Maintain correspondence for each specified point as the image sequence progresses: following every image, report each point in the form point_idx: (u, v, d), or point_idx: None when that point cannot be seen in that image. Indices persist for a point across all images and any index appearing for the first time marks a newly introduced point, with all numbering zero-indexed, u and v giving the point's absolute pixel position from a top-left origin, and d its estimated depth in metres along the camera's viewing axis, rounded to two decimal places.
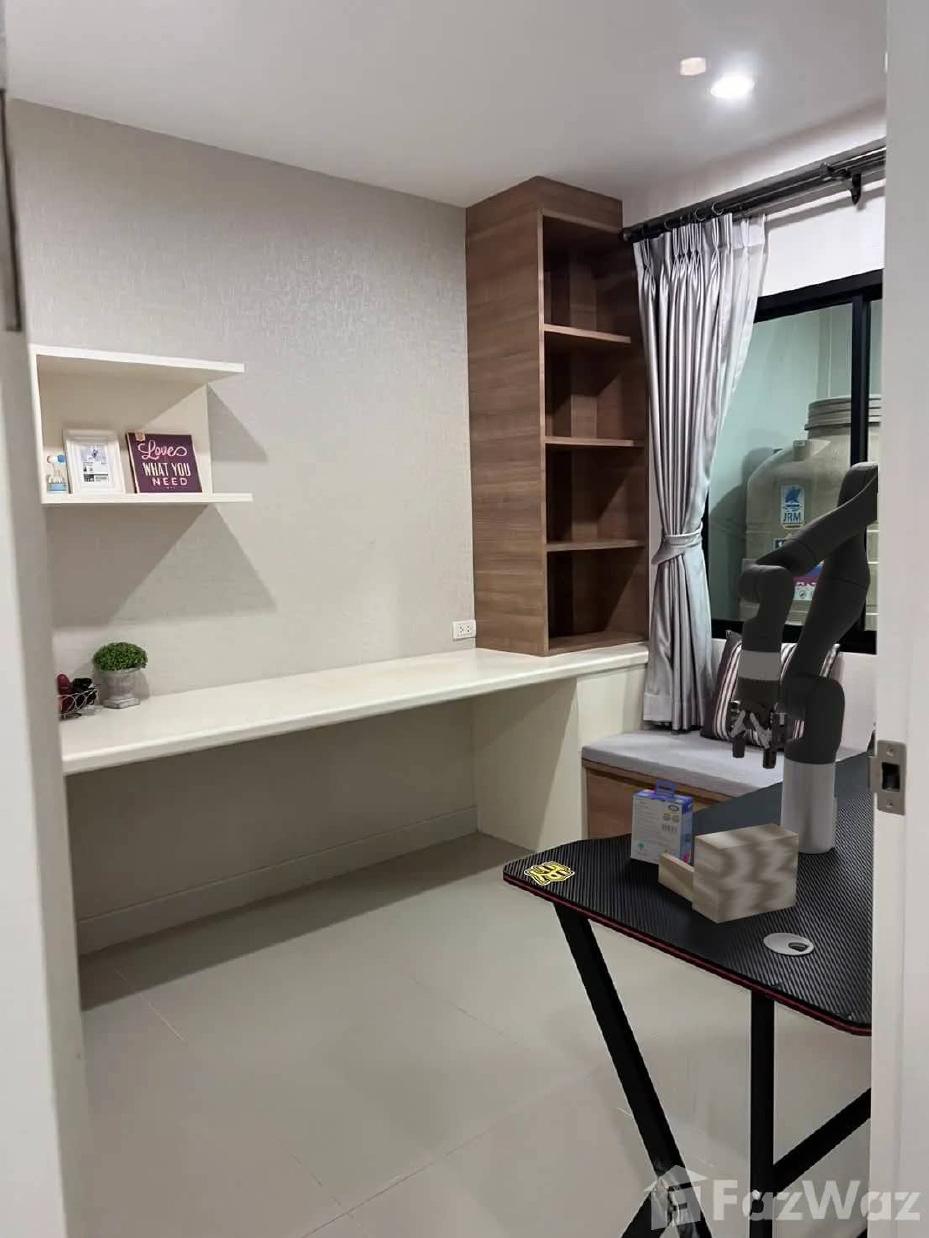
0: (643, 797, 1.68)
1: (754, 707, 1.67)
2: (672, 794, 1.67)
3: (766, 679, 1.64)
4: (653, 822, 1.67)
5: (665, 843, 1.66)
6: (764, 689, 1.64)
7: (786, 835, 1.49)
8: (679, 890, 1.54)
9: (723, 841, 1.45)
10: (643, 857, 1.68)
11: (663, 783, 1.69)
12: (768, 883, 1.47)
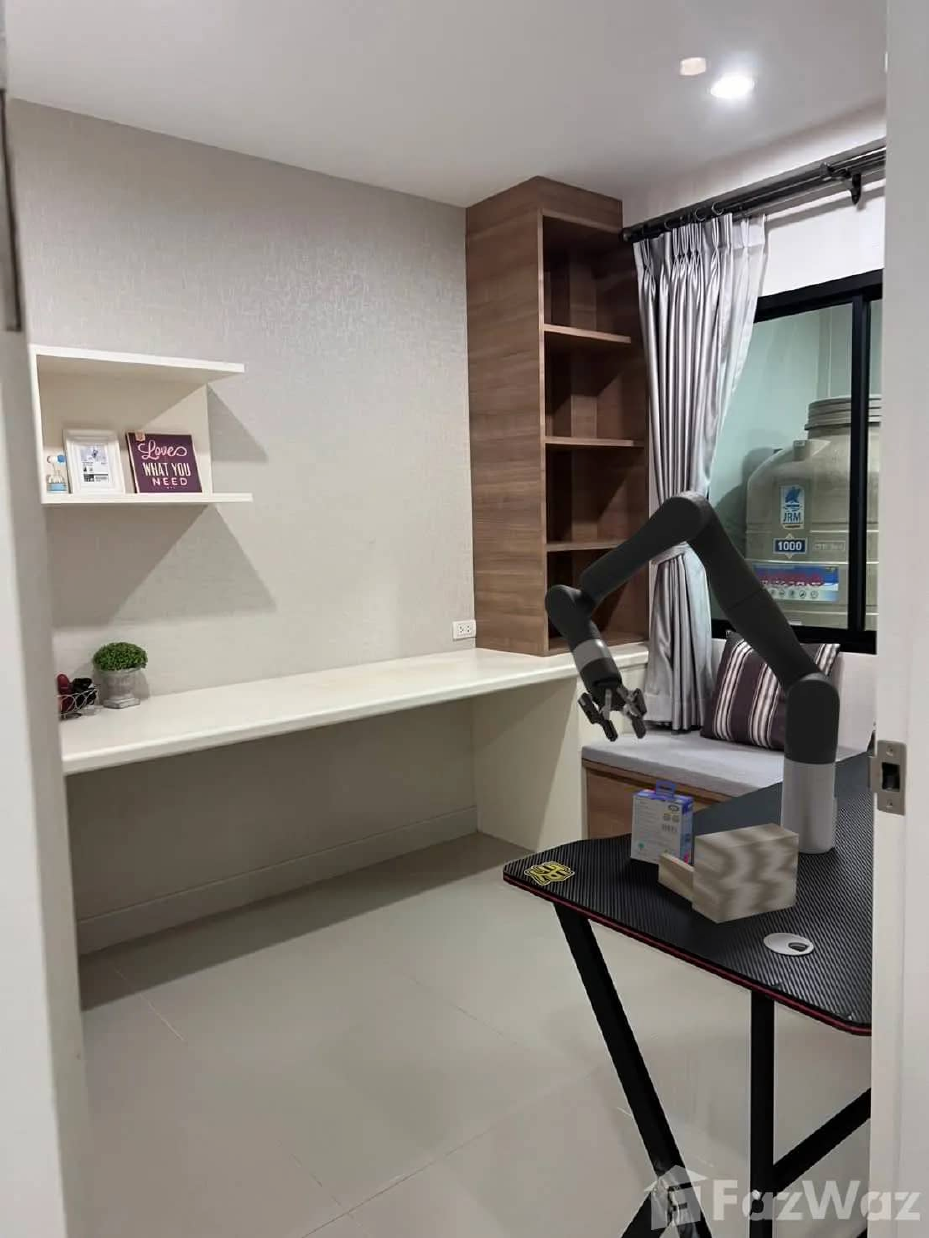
0: (643, 797, 1.68)
1: None
2: (672, 795, 1.67)
3: (579, 672, 1.86)
4: (653, 822, 1.67)
5: (665, 843, 1.66)
6: (582, 679, 1.85)
7: (786, 835, 1.49)
8: (679, 890, 1.54)
9: (723, 841, 1.45)
10: (643, 857, 1.68)
11: (663, 783, 1.69)
12: (768, 883, 1.47)
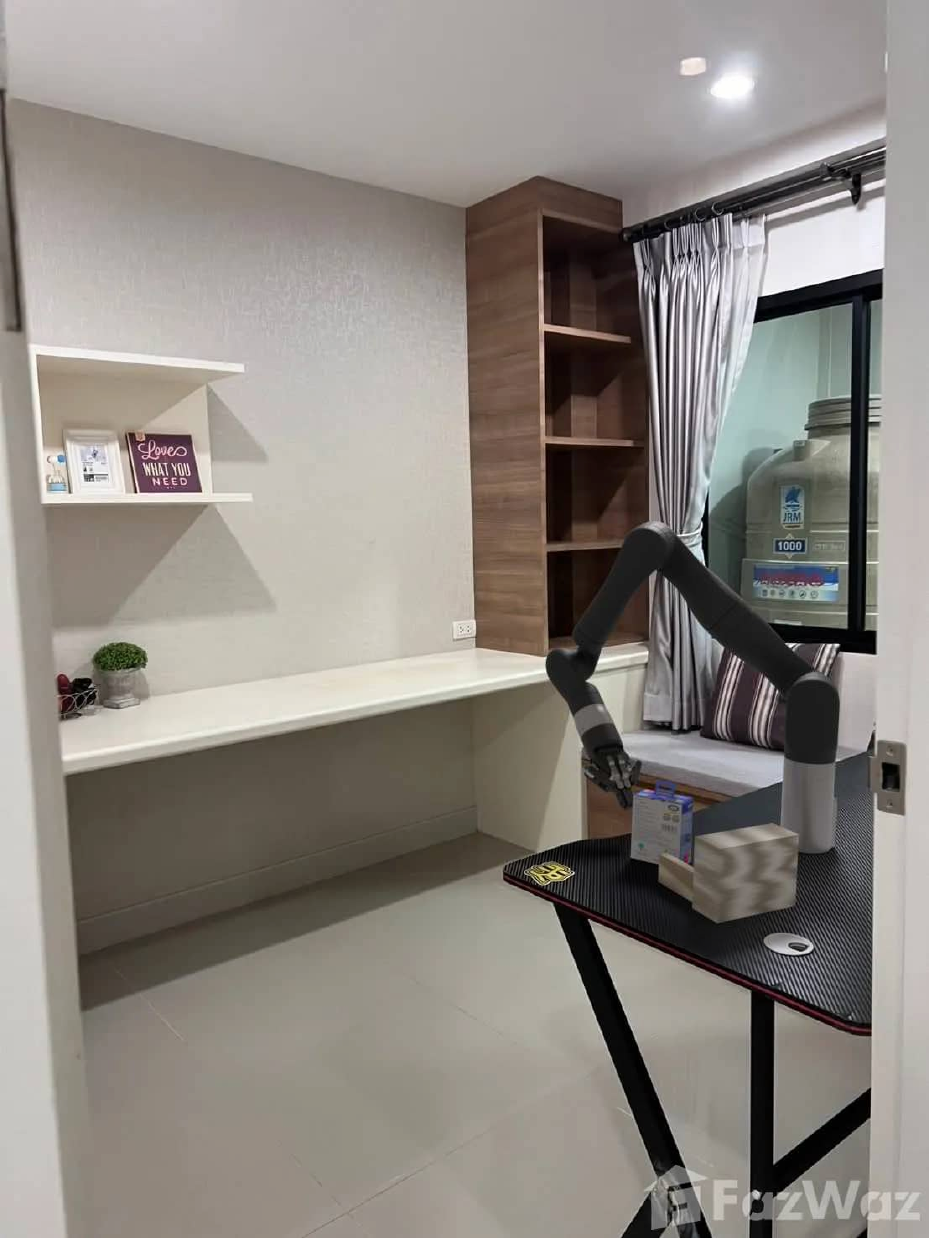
0: (643, 797, 1.68)
1: None
2: (672, 794, 1.67)
3: (580, 737, 1.86)
4: (653, 822, 1.67)
5: (665, 843, 1.66)
6: (583, 745, 1.85)
7: (786, 835, 1.49)
8: (679, 890, 1.54)
9: (723, 841, 1.45)
10: (643, 857, 1.68)
11: (663, 783, 1.69)
12: (768, 883, 1.47)
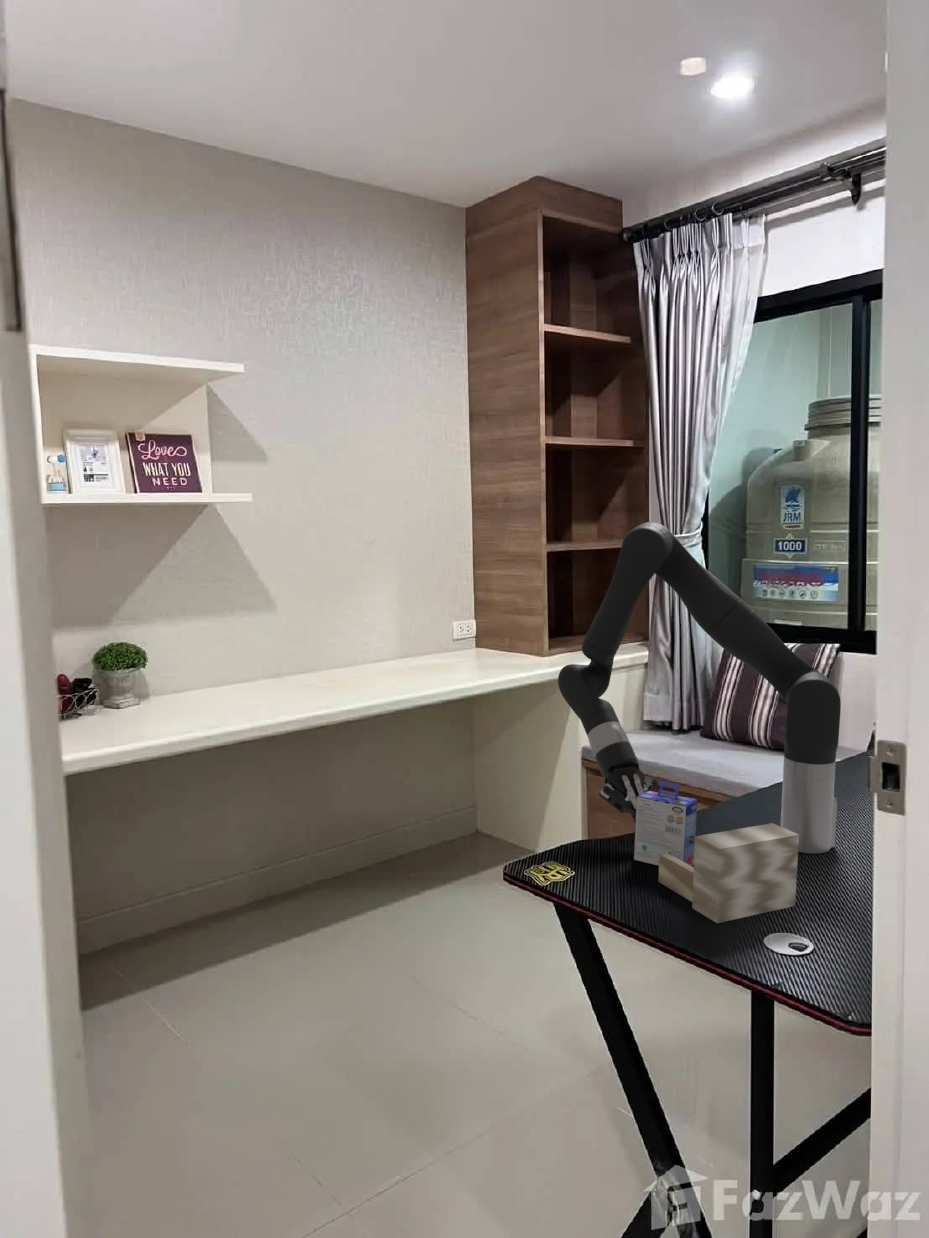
0: (646, 799, 1.67)
1: None
2: (676, 796, 1.66)
3: (595, 755, 1.82)
4: (656, 823, 1.66)
5: (668, 845, 1.65)
6: (598, 763, 1.81)
7: (786, 835, 1.49)
8: (679, 890, 1.54)
9: (723, 841, 1.45)
10: (647, 859, 1.67)
11: (666, 785, 1.68)
12: (768, 883, 1.47)
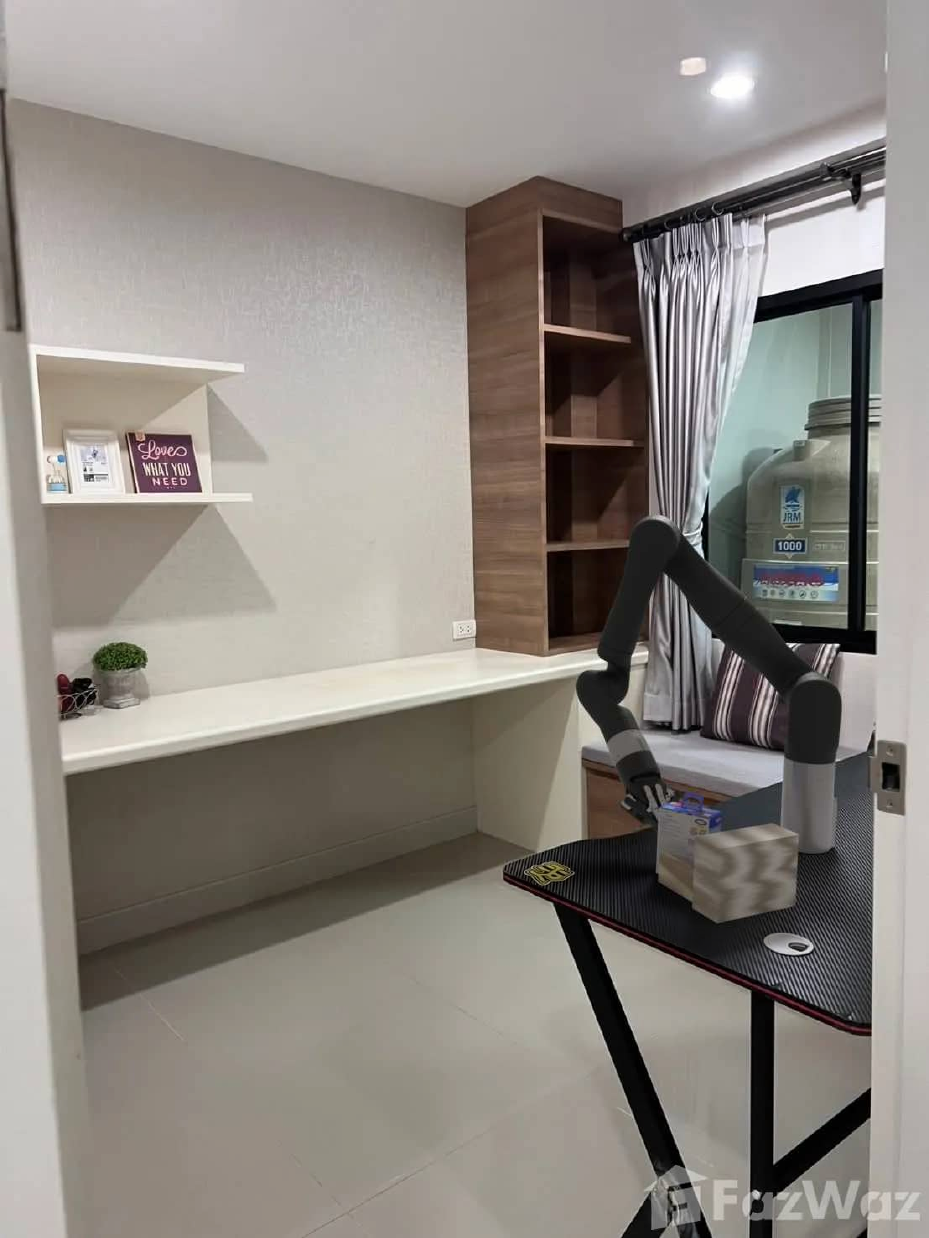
0: (668, 810, 1.61)
1: None
2: (700, 808, 1.60)
3: (615, 765, 1.76)
4: (679, 836, 1.60)
5: (691, 858, 1.58)
6: (618, 773, 1.75)
7: (786, 835, 1.49)
8: (679, 890, 1.54)
9: (723, 841, 1.45)
10: None
11: (690, 796, 1.62)
12: (768, 883, 1.47)
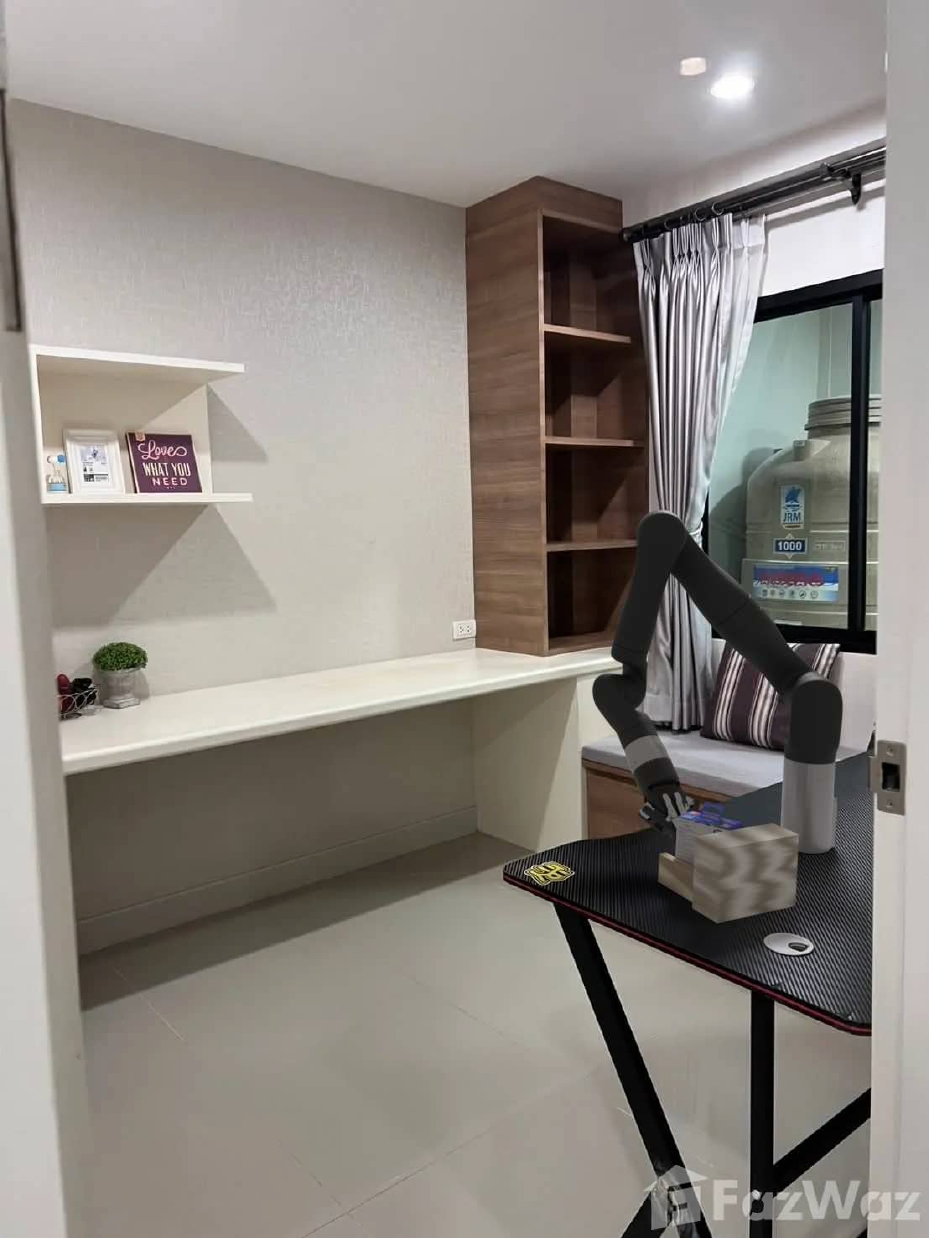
0: (687, 820, 1.56)
1: None
2: (719, 818, 1.54)
3: (632, 772, 1.70)
4: None
5: None
6: (636, 780, 1.70)
7: (786, 835, 1.49)
8: (679, 890, 1.54)
9: (723, 841, 1.45)
10: None
11: (710, 805, 1.56)
12: (768, 883, 1.47)
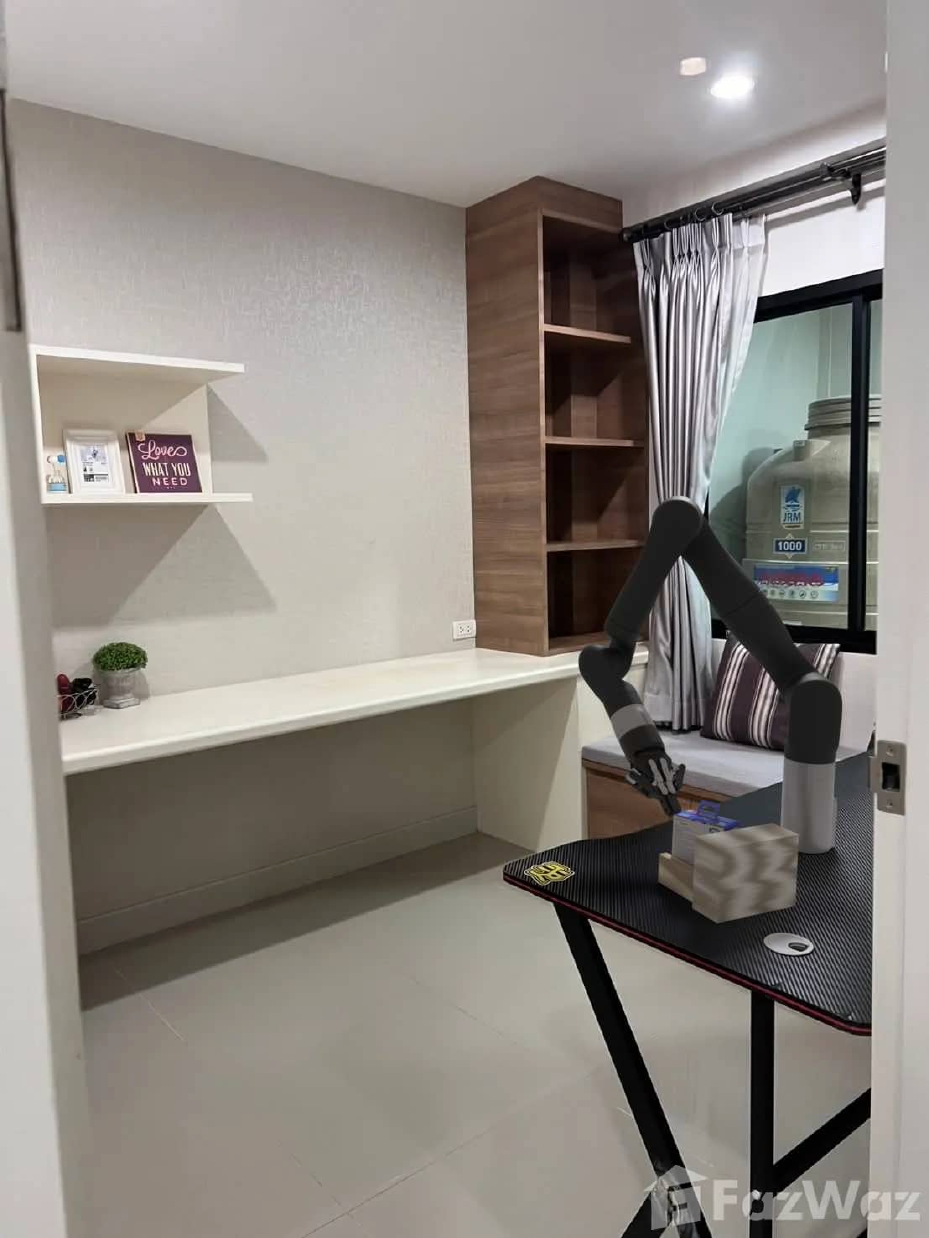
0: (683, 818, 1.57)
1: None
2: (716, 817, 1.55)
3: (618, 740, 1.74)
4: (693, 845, 1.56)
5: None
6: (622, 748, 1.73)
7: (786, 835, 1.49)
8: (679, 890, 1.54)
9: (723, 841, 1.45)
10: None
11: (706, 804, 1.57)
12: (768, 883, 1.47)
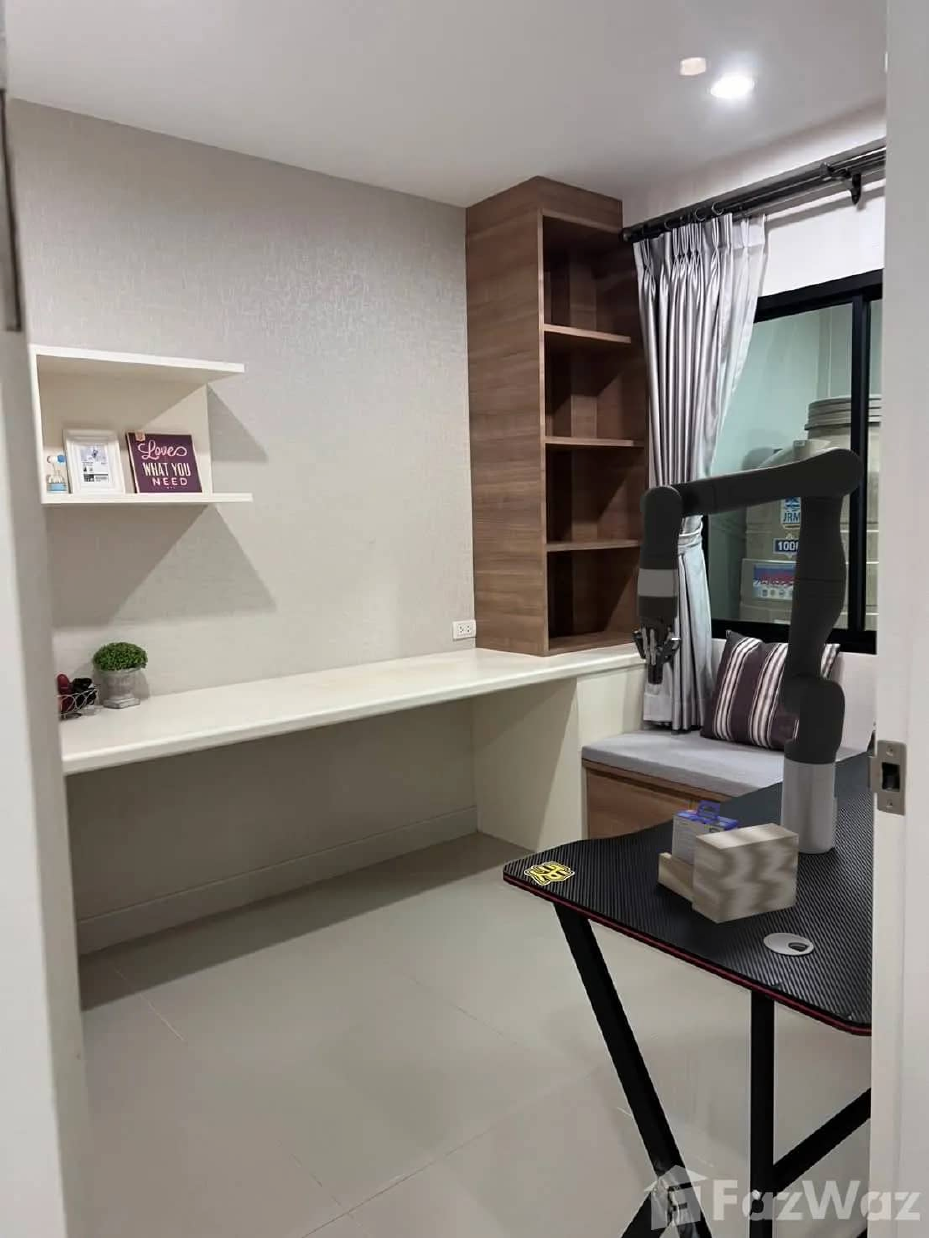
0: (683, 818, 1.57)
1: (654, 624, 1.73)
2: (716, 817, 1.55)
3: (664, 596, 1.70)
4: (693, 845, 1.56)
5: None
6: (662, 605, 1.70)
7: (786, 835, 1.49)
8: (679, 890, 1.54)
9: (723, 841, 1.45)
10: None
11: (706, 804, 1.57)
12: (768, 883, 1.47)
